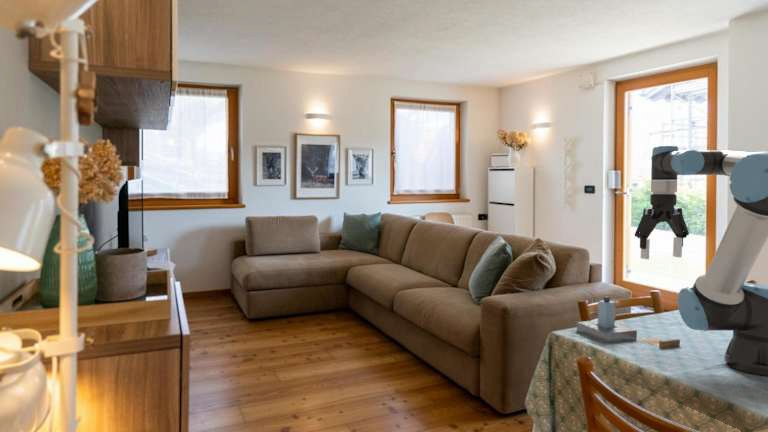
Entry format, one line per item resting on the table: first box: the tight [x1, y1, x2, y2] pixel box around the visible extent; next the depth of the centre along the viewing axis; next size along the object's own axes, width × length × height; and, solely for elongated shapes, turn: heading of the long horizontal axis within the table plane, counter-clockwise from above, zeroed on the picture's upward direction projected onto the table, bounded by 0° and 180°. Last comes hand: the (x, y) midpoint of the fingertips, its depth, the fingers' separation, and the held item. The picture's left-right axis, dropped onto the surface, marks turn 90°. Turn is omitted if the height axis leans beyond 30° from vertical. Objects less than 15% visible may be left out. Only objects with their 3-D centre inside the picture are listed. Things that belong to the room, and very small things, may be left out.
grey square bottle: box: [597, 295, 616, 329], centre depth 171 cm, size 4×4×14 cm
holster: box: [639, 337, 681, 349], centre depth 163 cm, size 9×7×3 cm
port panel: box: [576, 319, 638, 344], centre depth 171 cm, size 14×12×4 cm
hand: (661, 257), depth 170 cm, fingers open, 13 cm apart
